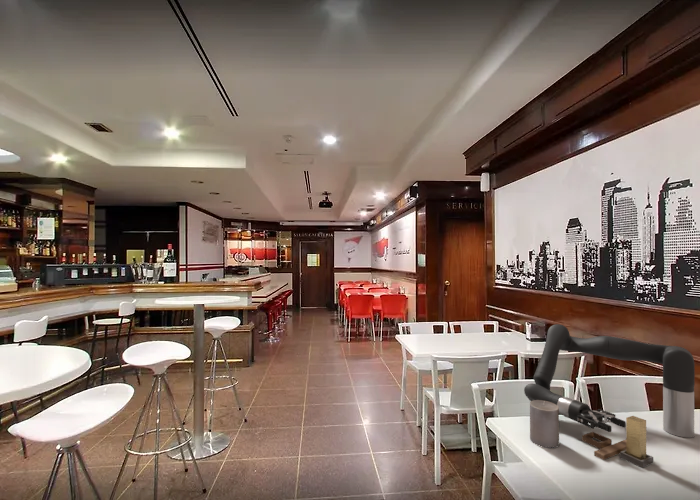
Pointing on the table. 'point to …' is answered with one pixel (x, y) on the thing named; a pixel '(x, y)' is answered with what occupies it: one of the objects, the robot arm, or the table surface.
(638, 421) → the tan wooden block
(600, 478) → the table surface
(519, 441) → the table surface
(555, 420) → the pillar candle
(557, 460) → the table surface
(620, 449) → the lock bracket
